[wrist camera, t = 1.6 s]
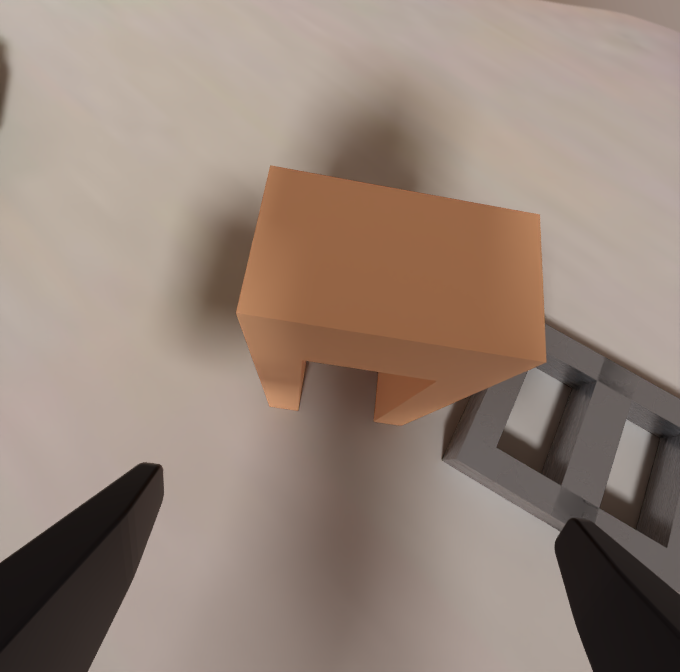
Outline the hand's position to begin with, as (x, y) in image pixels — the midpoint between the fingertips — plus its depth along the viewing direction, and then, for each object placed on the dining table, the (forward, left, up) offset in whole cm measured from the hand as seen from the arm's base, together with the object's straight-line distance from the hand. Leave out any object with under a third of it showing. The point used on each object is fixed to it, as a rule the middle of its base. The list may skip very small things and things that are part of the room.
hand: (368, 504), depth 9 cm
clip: (+2, +5, -12) cm, 13 cm away
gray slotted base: (+16, -4, -12) cm, 21 cm away
